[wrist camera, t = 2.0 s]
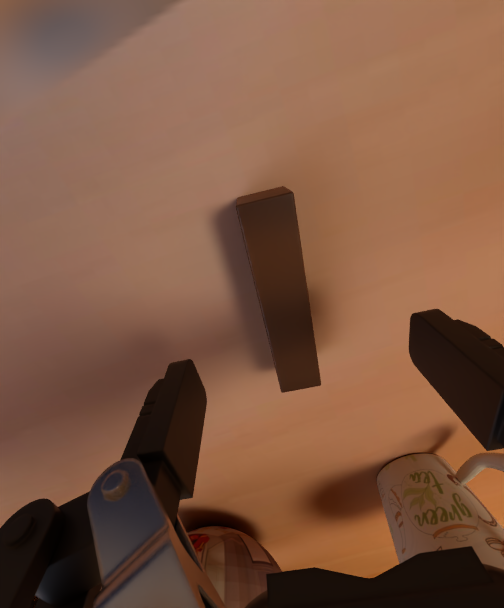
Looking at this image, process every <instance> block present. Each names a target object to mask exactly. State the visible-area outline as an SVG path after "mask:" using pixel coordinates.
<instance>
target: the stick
mask: <svg viewBox="0 0 504 608" xmlns="http://www.w3.org/2000/svg"><path fill="white" fill-rule="evenodd" d="M236 210H237V214H238V218H239V222H240V226H241V230H242V234H243V238H244V242H245V246H246V250H247V254H248V259H249V263H250V267H251V271H252V275H253V279H254V283H255V287H256V291H257V295H258V299H259V303H260V307H261V311H262V315H263V320H264V324H265V328H266V332H267V336H268V340H269V344H270V348H271V352H272V356H273V360H274V364H275V368H276V372H277V376H278V380H279V385H280V389H281V392H289V391H294V390H299V389H305V388H310V387H315V386H320V385H321V379H320V373H319V366H318V359H317V352H316V345H315V338H314V331H313V324H312V317H311V311H310V304H309V297H308V290H307V283H306V276H305V269H304V262H303V255H302V248H301V242H300V235H299V228H298V221H297V214H296V207H295V200H294V194H293V192H292V191H290V190H289V189H287V188H286V187H284V186H282V187H278V188H274V189H270V190H266V191H262V192H258V193H254V194H250V195H246V196H242V197H239V198H237V205H236Z"/></svg>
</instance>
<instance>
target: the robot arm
mask: <svg viewBox="0 0 504 608" xmlns="http://www.w3.org/2000/svg"><path fill="white" fill-rule="evenodd" d="M409 354H410V357H411V359H412V362H413V363H414V365H415V366H416V367H417V369H418V370H419V371H420V372H421V373H422V375H423V376H424V377H425V378H426V379H427V380H428V382H429V383H430V384H431V385H432V386H433V388H434V389H435V390H436V391H437V392H438V393H439V395H440V396H441V397H442V398H443V399H444V401H445V402H446V403H447V404H448V405H449V407H450V408H451V409H452V410H453V411H454V412H455V414H456V415H457V416H458V417H459V418H460V420H461V421H462V422H463V423H464V424H465V425H466V427H467V428H468V429H469V430H470V431H471V433H472V434H473V435H474V436H475V437H476V439H477V440H478V441H479V442H480V443H481V444H482V446H483V447H484V448H485V449H486V450H487V451H490V450H496V449H502V448H504V347H503V346H502V344H500V343H499V342H497V341H496V340H495V339H491V337H490V336H489V335H487V334H486V333H485V332H483V331H482V330H480V329H479V328H478V327H476V326H473V325H471V324H468V323H466V322H463V321H461V320H453V319H451V318H450V317H449V316H447V315H446V314H445V313H443V312H442V311H441V310H439V309H432V310H427V311H423V312H418V313H413V314H412V315H411V318H410V334H409ZM206 405H207V398H206V392H205V388H204V386H203V384H202V381H201V379H200V377H199V374H198V372H197V370H196V367H195V365H194V363H193V361H192V360H191V359H188V360H183V361H178V362H173V363H170V364H169V366H168V369H167V371H166V374H165V377H164V379H159V380H158V381H157V382H156V383H155V384H154V385H153V387H152V388H151V389H150V390H149V392H148V394H147V397H146V399H145V402H144V406H142V409H141V411H140V414H139V415H140V416H139V417H138V419H137V421H136V423H135V426H134V428H133V431H132V433H131V436H130V438H129V441H128V443H127V445H126V448H125V450H124V453H123V455H122V458H121V460H120V461H118V462H116V463H114V464H113V465H111V466H110V467H108V468H107V469H106V470H105V471H104V472H103V473H102V474H101V475H100V476H99V477H98V479H97V480H96V481H95V483H94V484H93V486H92V488H91V490H90V491H89V492H88V493H86V494H84V495H82V496H80V497H77V498H75V499H73V500H71V501H69V502H67V503H65V504H63V505H61V506H59V507H57V506H56V505H55V504H54V503H53V502H51V501H50V500H48V499H38V500H35V501H33V502H31V503H29V504H27V505H25V506H24V507H22V508H21V509H20V510H18V511H17V512H16V513H15V514H13V515H12V516H11V517H10V518H9V519H8V520H7V521H6V522H5V523H4V525H3V526H2V527H1V528H0V608H30V605H31V603H32V601H33V599H34V596H37V597H38V598H39V599H38V601H37V603H36V606H35V608H226V607H225V605H224V603H223V601H222V599H221V598H220V596H219V594H218V592H217V591H216V589H215V587H214V586H213V584H212V582H211V580H210V579H209V577H208V575H207V573H206V571H205V569H204V567H203V565H202V563H201V561H200V559H199V557H198V555H197V552H196V550H195V548H194V546H193V544H192V542H191V540H190V538H189V536H188V534H187V532H186V530H185V528H184V526H183V524H182V522H181V520H180V518H179V516H178V514H177V512H178V507H179V501H180V500H182V499H188V498H193V492H194V485H195V478H196V472H197V465H198V458H199V452H200V445H201V438H202V432H203V425H204V418H205V412H206ZM266 578H267V590H266V591H265V592H263V593H261V594H260V595H258V596H257V597H256V598H254V599H253V600H252V601H251V602H249V603H248V604H247V606H246V607H245V608H504V569H501V568H497V567H494V566H491V565H487V564H482V562H481V561H480V559H479V557H478V556H477V554H476V552H475V551H474V549H473V547H472V546H468V547H460V548H453V549H446V550H438V551H431V552H424V553H418V554H417V555H415V556H413V557H411V558H409V559H408V560H406V561H404V562H402V563H400V564H399V565H397V566H395V567H393V568H391V569H390V570H388V571H386V572H384V573H382V574H381V575H379V576H377V577H375V578H370V579H369V578H362V577H358V576H353V575H348V574H343V573H339V572H334V571H329V570H324V569H319V568H315V567H314V568H307V569H300V570H292V571H285V572H278V573H270V574H266ZM101 587H102V589H101ZM100 590H101V591H100Z"/></svg>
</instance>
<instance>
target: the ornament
mask: <svg viewBox="0 0 504 608" xmlns="http://www.w3.org/2000/svg"><path fill="white" fill-rule="evenodd" d="M187 534H188V536H189V538H190V540H191V542H192V544H193V546H194V548H195V550H196V552H197V555H198V557H199V559H200V561H201V563H202V565H203V567H204V569H205V571H206V573H207V575H208V577H209V579H210V580H211V582H212V584H213V586H214V587H215V589H216V591H217V592H218V594H219V596H220V598H221V599H222V601H223V603H224V605H225V607H226V608H245V607H246V606H247V604H248V603H249V602H251V601H252V600H253V599H254V598H256V597H257V596H258V595H260V594H261V593H263V592H265V591H266V590H267V578H266V574H270V573H278V572H282V571H281V569H280V567H279V566H278V564H277V563H276V561H275V560H274V559H273V557H272V556H271V555H270V554H269V552H268V551H267V550H266V549H265V548H264V547H263V546H261V545H260V544H259V543H258V542H257V541H256V540H254V539H253V538H251V537H250V536H248V535H247V534H245V533H243V532H241V531H238V530H235V529H232V528H228V527H222V526H209V527H203V528H199V529H195V530H192V531H189V532H187Z"/></svg>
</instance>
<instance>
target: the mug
mask: <svg viewBox="0 0 504 608" xmlns="http://www.w3.org/2000/svg"><path fill="white" fill-rule="evenodd" d="M485 468H494V469H497V470H500V471H503V472H504V454H501V453H480V454H476V455H474V456H472V457H471V458H470V459H468V460H467V461H466V462H465V463H464V464H463V465H462V466H461V467H460V469H459V470H458V471H457V473H456V472H455V470H454V469H453V468H452V467H451V466H450V465H449V463H448V462H447V461H446V460H445V459H443V458H442V457H440V456H437V455H434V454H426V453H421V454H412V455H408V456H404V457H401V458H399V459H396V460H394V461H392V462H391V463H389V464H388V465H386V466H385V467H384V468H383V469H382V470H381V471H380V472H379V474H378V476H377V486H378V490H379V494H380V497H381V500H382V504H383V507H384V511H385V514H386V518H387V521H388V525H389V528H390V532H391V535H392V539H393V542H394V546H395V549H396V553H397V556H398V560H399V563H402V562H404V561H406V560H408V559H409V558H411V557H413V556H415V555H417V554H418V553H424V552H431V551H438V550H446V549H453V548H460V547H468V546H472V547H473V549H474V551H475V552H476V554H477V556H478V557H479V559H480V561H481V562H482V564H487V565H491V566H494V567H497V568H501V569H504V529H503V527H502V526H501V525H500V524H499V523H498V521H497V520H496V519H495V518H494V517H493V515H492V514H491V513H490V512H489V511H488V510H487V508H486V507H485V506H484V505H483V504H482V502H481V501H480V500H479V499H478V498H477V496H476V495H475V494H474V493H473V492H472V491H471V489H470V488H469V487H468V486H467V485H466V483H467V482H469V481H470V480H471V479H473V478H474V477H475V476H476V475H477V474H478V473H480V472H481V471H482V470H483V469H485Z"/></svg>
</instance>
